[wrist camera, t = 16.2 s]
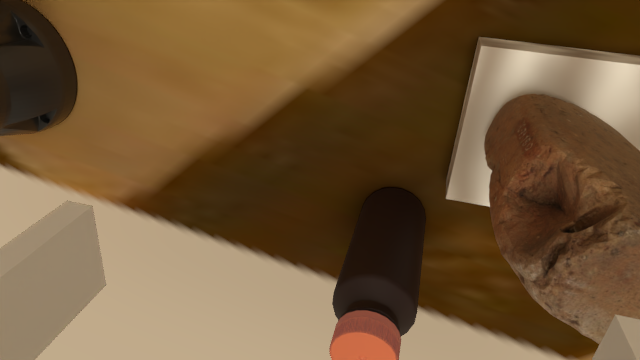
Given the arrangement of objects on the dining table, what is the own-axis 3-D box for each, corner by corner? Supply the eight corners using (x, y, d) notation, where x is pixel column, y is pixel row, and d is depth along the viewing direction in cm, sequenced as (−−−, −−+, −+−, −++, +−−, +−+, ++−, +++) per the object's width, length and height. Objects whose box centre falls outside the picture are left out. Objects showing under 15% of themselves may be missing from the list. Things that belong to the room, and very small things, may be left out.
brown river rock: (639, 141, 37) (802, 315, 20) (569, 206, 41) (654, 401, 24) (526, 67, 37) (591, 180, 20) (465, 140, 41) (476, 288, 23)
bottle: (415, 179, 48) (394, 314, 31) (433, 234, 50) (424, 389, 33) (353, 194, 50) (302, 326, 33) (374, 245, 53) (336, 395, 35)
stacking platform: (446, 179, 47) (445, 198, 43) (478, 36, 40) (481, 45, 37) (596, 205, 44) (608, 228, 41) (657, 57, 38) (678, 69, 34)
